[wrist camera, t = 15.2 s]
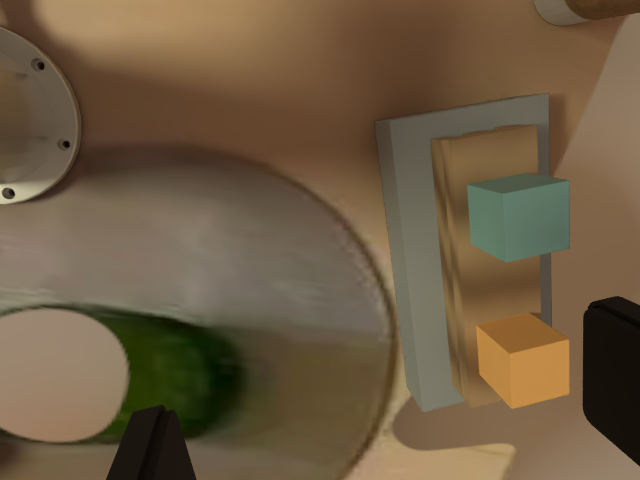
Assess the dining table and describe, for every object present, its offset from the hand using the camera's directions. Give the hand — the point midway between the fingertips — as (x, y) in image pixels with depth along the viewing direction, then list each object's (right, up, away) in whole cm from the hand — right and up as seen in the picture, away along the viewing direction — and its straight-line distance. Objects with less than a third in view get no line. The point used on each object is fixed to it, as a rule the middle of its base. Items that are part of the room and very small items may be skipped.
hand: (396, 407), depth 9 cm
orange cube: (+13, -5, +25) cm, 29 cm away
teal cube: (+11, +6, +22) cm, 26 cm away
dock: (+11, +3, +31) cm, 33 cm away
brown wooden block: (+12, +2, +27) cm, 30 cm away
